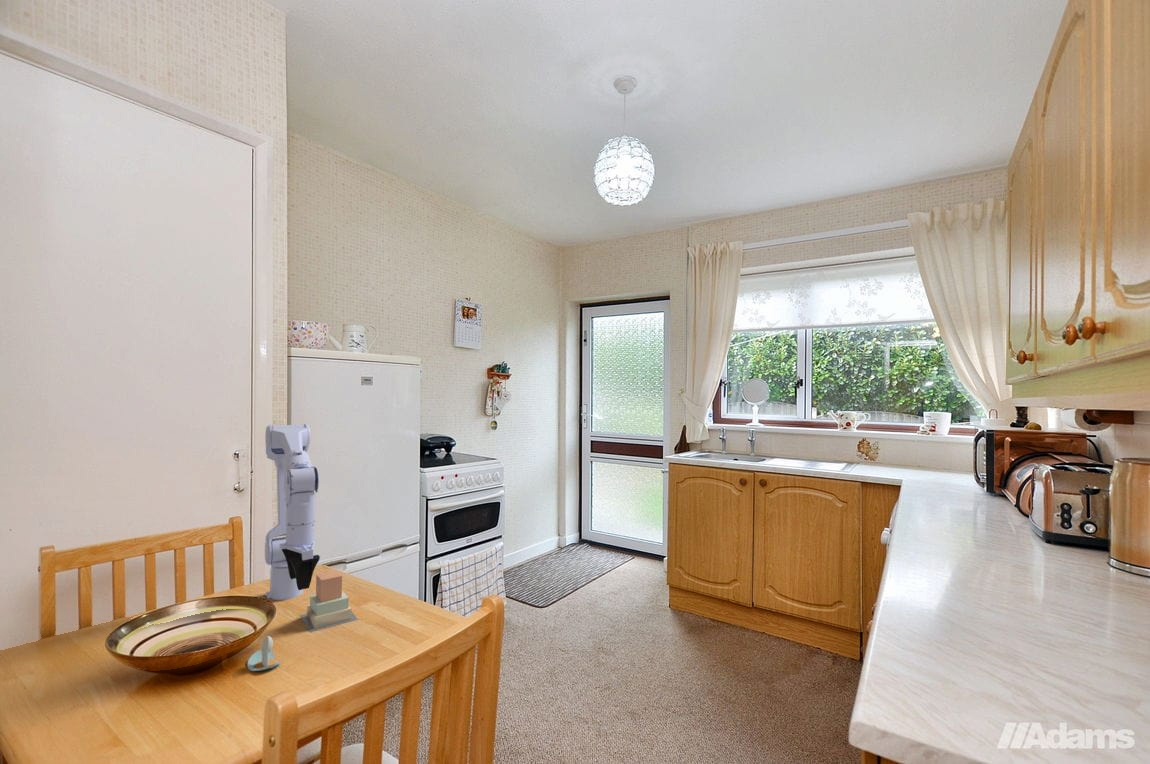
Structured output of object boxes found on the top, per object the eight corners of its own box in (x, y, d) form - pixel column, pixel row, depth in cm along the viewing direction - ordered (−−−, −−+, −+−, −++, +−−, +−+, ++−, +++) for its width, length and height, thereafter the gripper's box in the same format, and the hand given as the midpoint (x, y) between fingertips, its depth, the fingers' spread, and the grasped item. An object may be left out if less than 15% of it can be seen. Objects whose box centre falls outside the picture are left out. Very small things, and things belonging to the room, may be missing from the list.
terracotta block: (315, 596, 118) (316, 574, 118) (336, 591, 121) (336, 570, 121) (320, 602, 115) (321, 580, 115) (341, 597, 118) (342, 575, 118)
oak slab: (306, 615, 119) (307, 605, 119) (341, 607, 124) (341, 597, 124) (314, 628, 113) (315, 617, 113) (351, 618, 118) (351, 608, 118)
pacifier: (246, 686, 93) (282, 673, 98) (245, 653, 93) (282, 640, 98) (236, 670, 99) (271, 657, 103) (235, 638, 98) (271, 627, 103)
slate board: (299, 619, 119) (300, 615, 119) (345, 608, 125) (345, 604, 125) (310, 636, 111) (310, 632, 111) (358, 623, 117) (358, 619, 117)
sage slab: (310, 605, 119) (310, 595, 119) (340, 598, 123) (340, 588, 123) (317, 616, 114) (317, 605, 114) (348, 608, 118) (348, 597, 118)
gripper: (273, 517, 117) (272, 577, 117) (287, 533, 106) (286, 598, 106) (307, 513, 122) (306, 570, 122) (324, 527, 111) (322, 590, 111)
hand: (299, 583), depth 114 cm, fingers open, 7 cm apart
